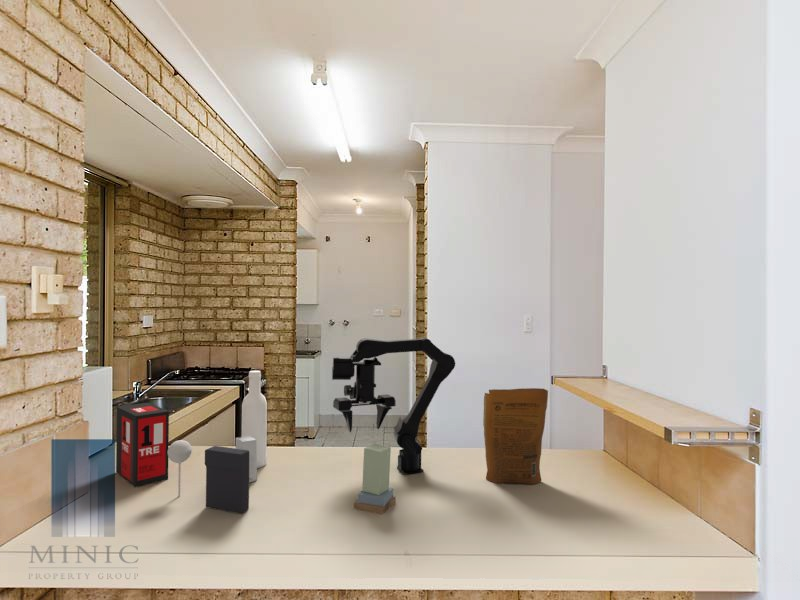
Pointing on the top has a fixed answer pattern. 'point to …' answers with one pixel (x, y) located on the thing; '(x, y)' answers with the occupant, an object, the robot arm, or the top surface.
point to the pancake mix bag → (514, 434)
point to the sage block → (376, 469)
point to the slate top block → (375, 497)
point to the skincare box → (249, 445)
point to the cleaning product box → (142, 443)
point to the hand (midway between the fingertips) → (364, 430)
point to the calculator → (227, 479)
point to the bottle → (255, 416)
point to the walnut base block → (374, 506)
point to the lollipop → (179, 454)
